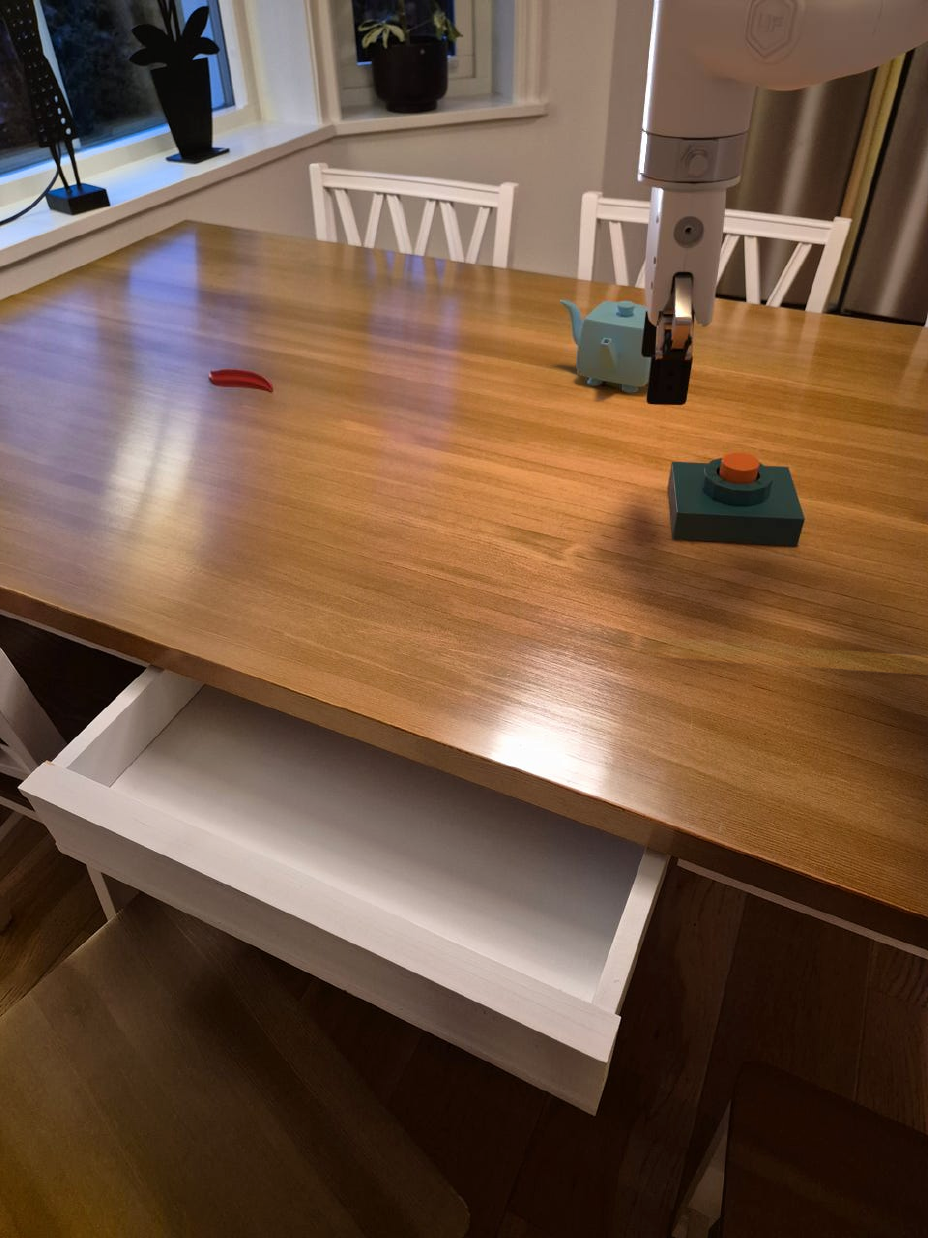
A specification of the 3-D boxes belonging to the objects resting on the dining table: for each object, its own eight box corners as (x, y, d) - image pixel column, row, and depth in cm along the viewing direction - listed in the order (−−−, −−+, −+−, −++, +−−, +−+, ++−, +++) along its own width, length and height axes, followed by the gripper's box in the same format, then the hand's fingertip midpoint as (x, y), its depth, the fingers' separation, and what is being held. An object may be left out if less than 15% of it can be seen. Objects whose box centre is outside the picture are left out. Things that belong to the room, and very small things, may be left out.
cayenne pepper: (198, 377, 115) (195, 364, 114) (225, 366, 118) (222, 353, 117) (253, 400, 109) (250, 386, 108) (280, 388, 112) (278, 374, 111)
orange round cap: (753, 468, 84) (757, 453, 83) (758, 486, 81) (762, 471, 80) (717, 466, 85) (720, 451, 83) (720, 485, 82) (723, 469, 81)
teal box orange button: (781, 492, 89) (792, 451, 86) (797, 546, 81) (809, 502, 78) (667, 487, 90) (673, 445, 87) (672, 539, 83) (679, 496, 80)
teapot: (696, 372, 113) (709, 297, 106) (664, 415, 103) (675, 335, 97) (573, 350, 120) (578, 278, 113) (532, 388, 110) (535, 312, 104)
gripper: (761, 185, 54) (717, 425, 65) (728, 134, 68) (696, 341, 78) (644, 185, 55) (620, 422, 66) (634, 134, 68) (616, 339, 79)
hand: (661, 378), depth 72 cm, fingers open, 9 cm apart
